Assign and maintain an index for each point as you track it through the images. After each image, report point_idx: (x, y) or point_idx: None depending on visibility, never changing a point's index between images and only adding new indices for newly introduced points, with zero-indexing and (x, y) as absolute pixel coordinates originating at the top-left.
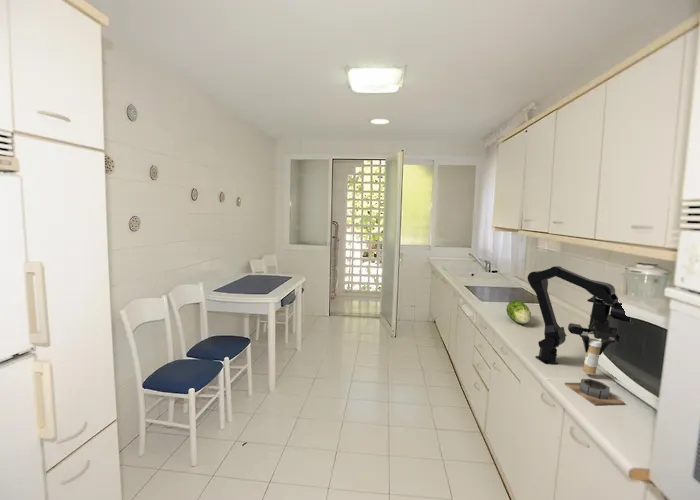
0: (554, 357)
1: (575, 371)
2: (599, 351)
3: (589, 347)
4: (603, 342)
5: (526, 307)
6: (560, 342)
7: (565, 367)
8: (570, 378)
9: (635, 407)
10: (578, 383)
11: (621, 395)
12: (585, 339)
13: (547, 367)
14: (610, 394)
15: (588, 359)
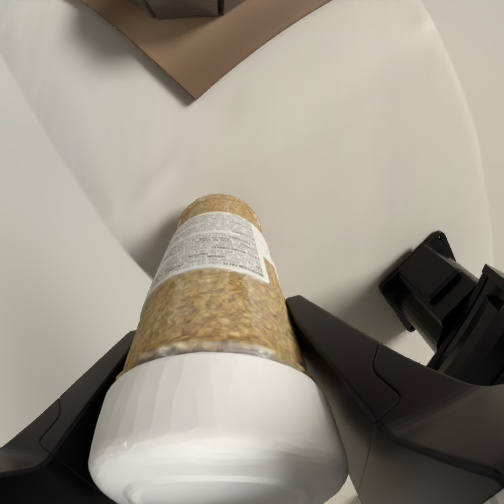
0: (426, 274)
1: (294, 244)
2: (132, 343)
3: (285, 341)
4: (74, 487)
5: None
6: (491, 332)
7: (345, 264)
8: (324, 95)
9: (26, 2)
10: (280, 17)
11: (53, 77)
12: (467, 405)
13: (432, 185)
14: (104, 9)
15: (248, 236)
